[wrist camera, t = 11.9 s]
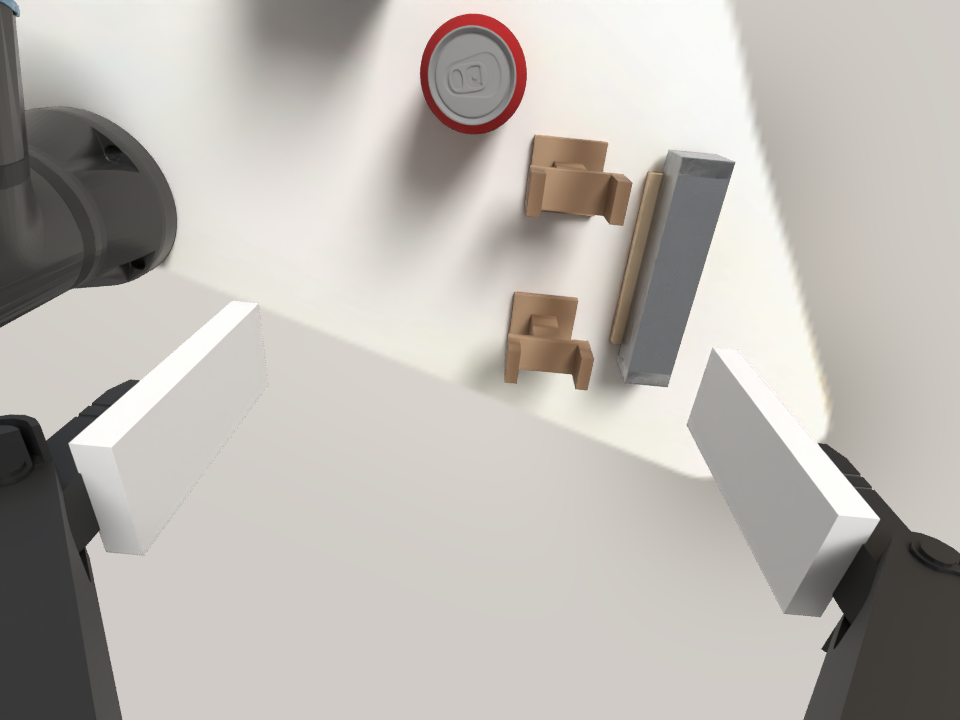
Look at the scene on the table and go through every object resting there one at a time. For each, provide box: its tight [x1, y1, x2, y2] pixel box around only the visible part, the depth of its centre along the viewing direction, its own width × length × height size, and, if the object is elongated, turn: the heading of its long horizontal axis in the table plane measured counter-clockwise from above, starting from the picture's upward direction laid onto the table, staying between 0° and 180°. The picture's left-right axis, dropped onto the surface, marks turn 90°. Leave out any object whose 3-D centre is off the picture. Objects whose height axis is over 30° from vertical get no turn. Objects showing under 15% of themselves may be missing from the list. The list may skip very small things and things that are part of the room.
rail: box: [617, 150, 735, 387], centre depth 47 cm, size 4×20×4 cm, turn 175°
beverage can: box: [420, 14, 527, 134], centre depth 38 cm, size 7×7×12 cm
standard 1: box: [505, 292, 594, 390], centre depth 49 cm, size 7×6×10 cm
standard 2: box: [525, 135, 632, 226], centre depth 42 cm, size 7×6×10 cm
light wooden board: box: [610, 172, 663, 344], centre depth 49 cm, size 6×16×1 cm, turn 175°
